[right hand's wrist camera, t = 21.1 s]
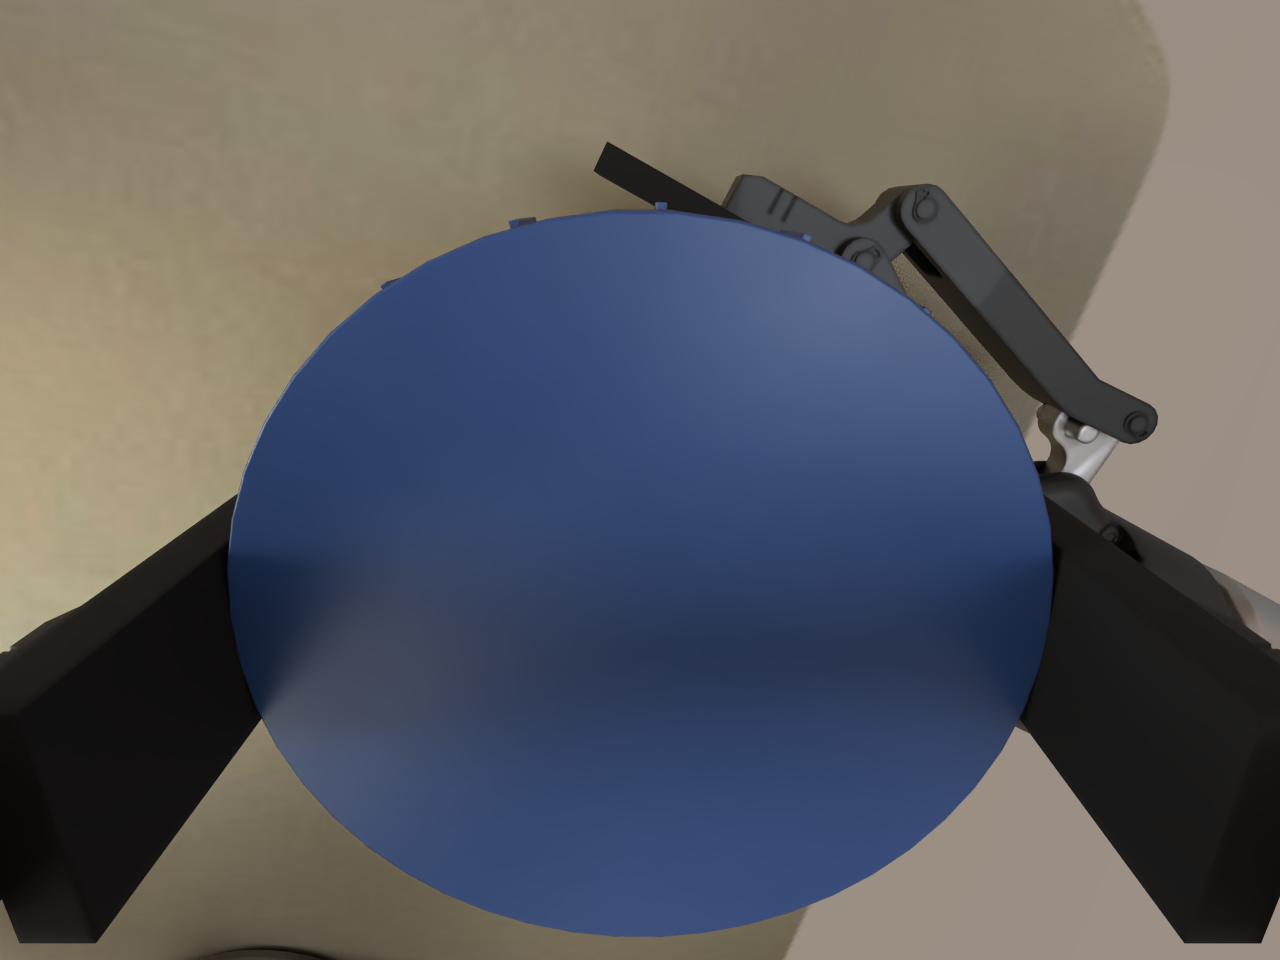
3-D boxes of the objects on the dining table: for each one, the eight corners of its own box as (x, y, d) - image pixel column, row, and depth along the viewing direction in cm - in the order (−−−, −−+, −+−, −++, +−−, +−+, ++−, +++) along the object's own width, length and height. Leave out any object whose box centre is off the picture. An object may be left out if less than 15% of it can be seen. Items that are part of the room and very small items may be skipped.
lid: (284, 778, 13) (220, 881, 11) (316, 126, 10) (230, 106, 8) (862, 870, 14) (900, 983, 12) (1096, 298, 10) (1207, 321, 8)
